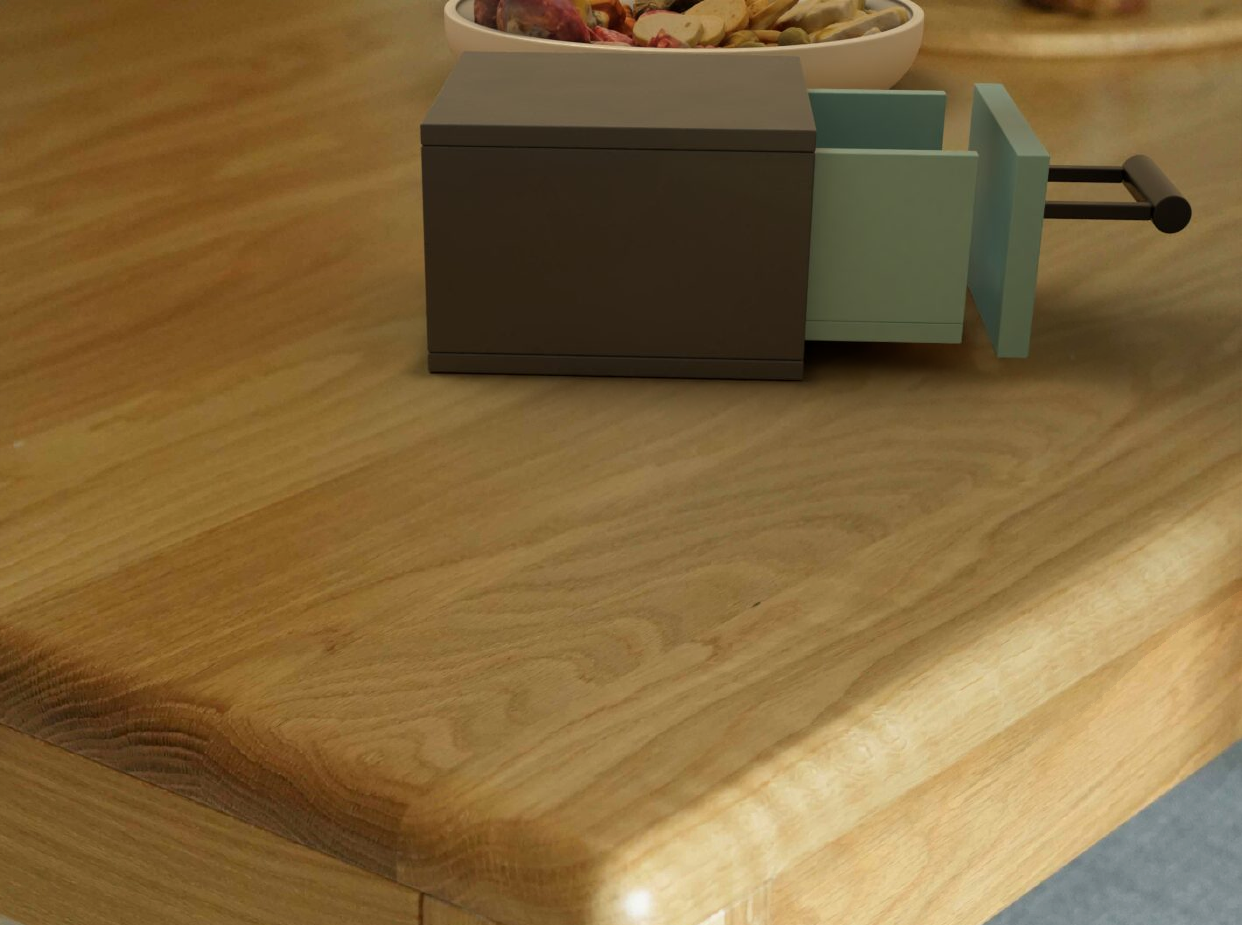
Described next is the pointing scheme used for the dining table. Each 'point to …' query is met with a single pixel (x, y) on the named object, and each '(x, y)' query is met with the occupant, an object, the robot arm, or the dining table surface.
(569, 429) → the dining table surface
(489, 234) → the cabinet
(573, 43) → the bowl
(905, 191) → the drawer
